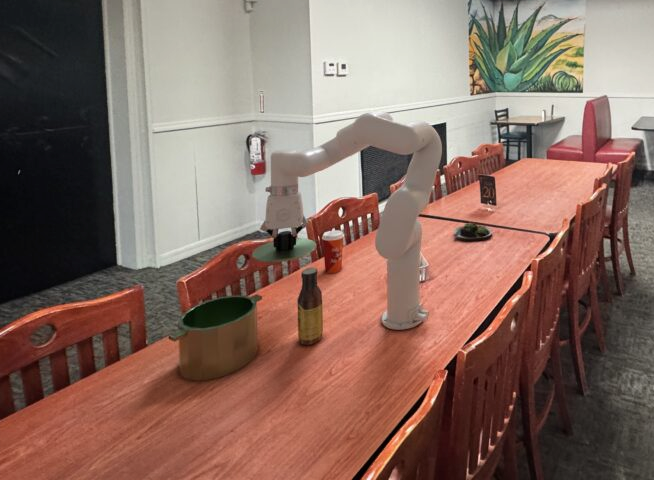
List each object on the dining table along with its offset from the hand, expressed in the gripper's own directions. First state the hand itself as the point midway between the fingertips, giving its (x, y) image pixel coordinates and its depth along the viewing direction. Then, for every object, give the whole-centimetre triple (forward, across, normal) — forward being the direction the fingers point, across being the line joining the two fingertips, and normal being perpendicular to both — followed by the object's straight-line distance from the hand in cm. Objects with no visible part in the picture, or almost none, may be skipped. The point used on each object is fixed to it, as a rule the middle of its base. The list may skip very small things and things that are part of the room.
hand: (285, 247), depth 138 cm
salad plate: (+19, +72, +44) cm, 87 cm away
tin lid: (+1, 0, 0) cm, 1 cm away
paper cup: (+20, +13, +25) cm, 35 cm away
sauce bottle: (+20, +9, -20) cm, 29 cm away
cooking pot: (+20, -12, -21) cm, 31 cm away
